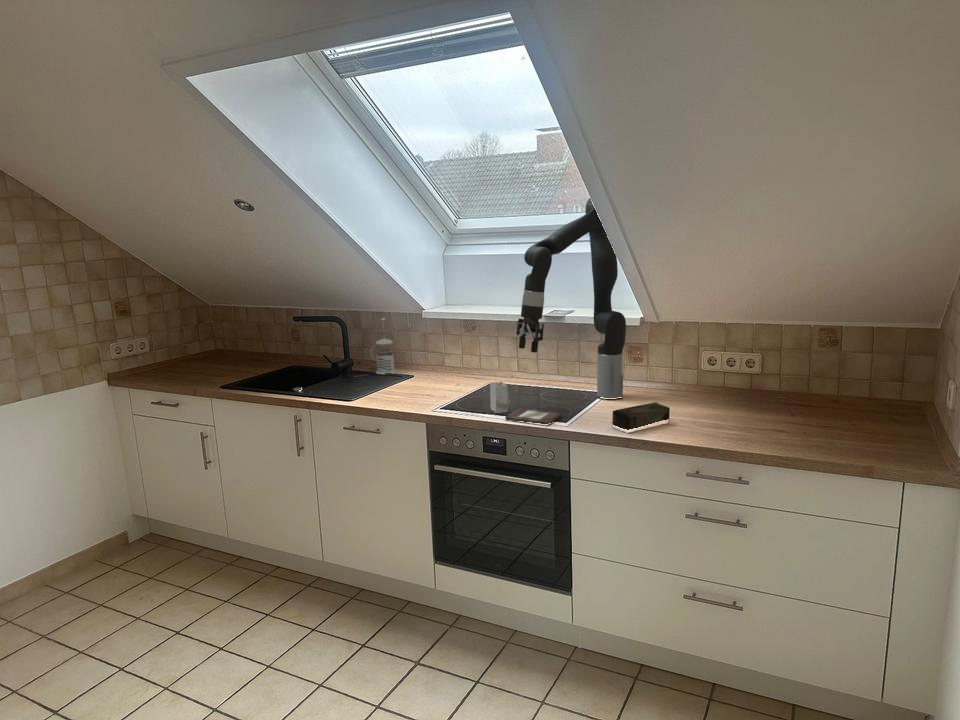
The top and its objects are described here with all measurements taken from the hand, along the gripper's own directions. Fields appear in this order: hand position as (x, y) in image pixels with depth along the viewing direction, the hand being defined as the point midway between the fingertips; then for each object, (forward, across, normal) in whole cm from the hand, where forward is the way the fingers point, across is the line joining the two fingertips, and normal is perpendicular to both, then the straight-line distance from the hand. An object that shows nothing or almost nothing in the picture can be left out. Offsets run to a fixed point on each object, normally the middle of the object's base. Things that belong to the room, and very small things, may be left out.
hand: (527, 350), depth 242 cm
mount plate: (+22, -8, 0) cm, 24 cm away
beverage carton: (+19, -34, -26) cm, 47 cm away
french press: (+26, +89, +21) cm, 95 cm away
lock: (+23, +6, +5) cm, 25 cm away
